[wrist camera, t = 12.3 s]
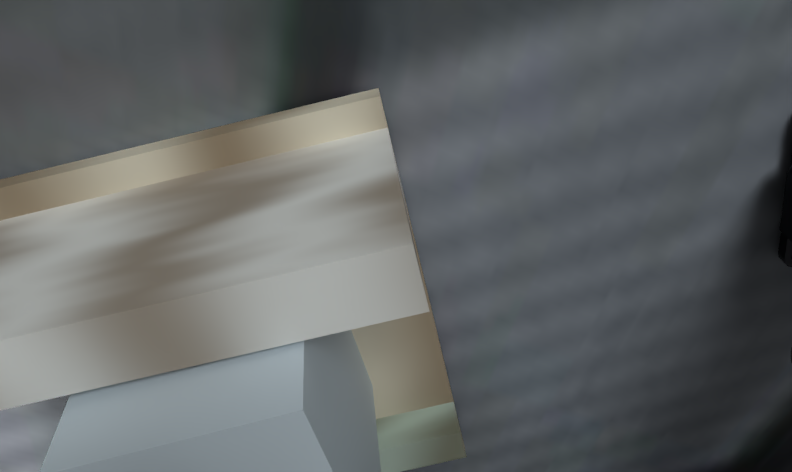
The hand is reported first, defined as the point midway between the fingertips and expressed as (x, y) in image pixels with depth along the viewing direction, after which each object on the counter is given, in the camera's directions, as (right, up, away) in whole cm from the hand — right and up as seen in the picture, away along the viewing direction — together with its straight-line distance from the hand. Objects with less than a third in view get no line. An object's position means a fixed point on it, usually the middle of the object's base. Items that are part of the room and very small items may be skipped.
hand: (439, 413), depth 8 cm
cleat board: (-5, -1, +16) cm, 17 cm away
